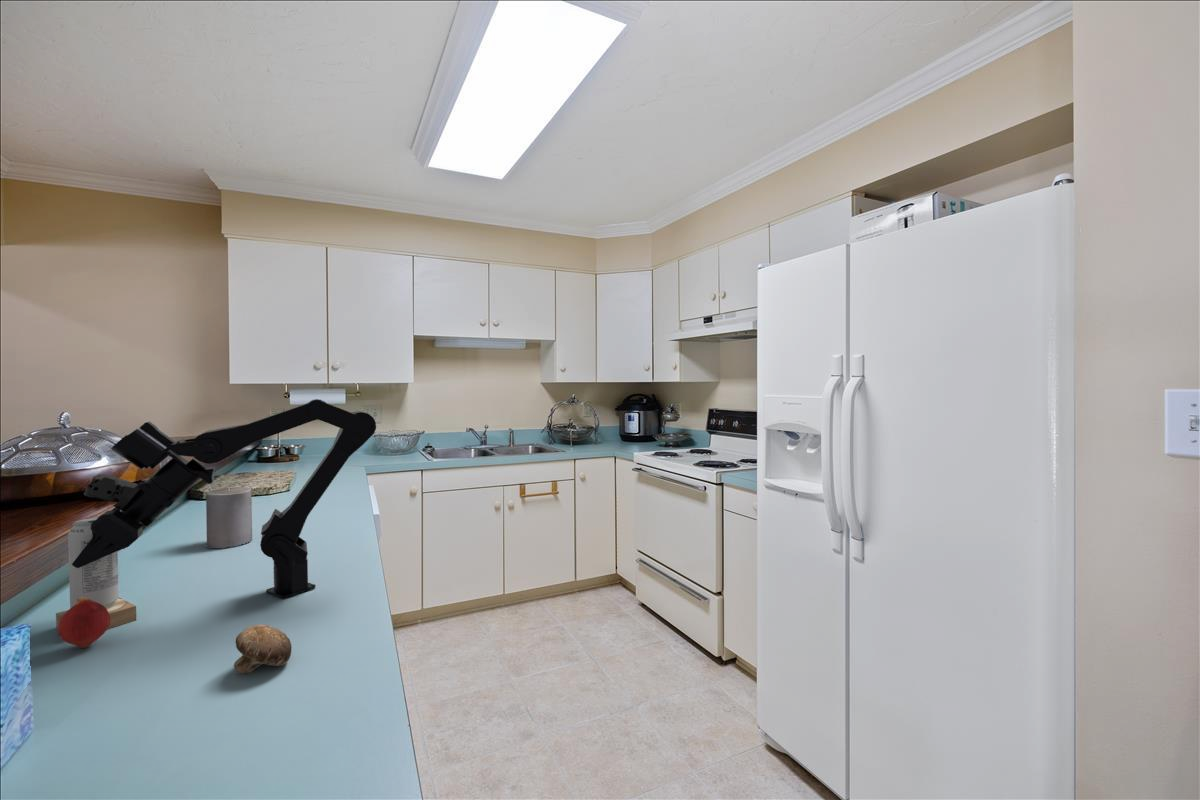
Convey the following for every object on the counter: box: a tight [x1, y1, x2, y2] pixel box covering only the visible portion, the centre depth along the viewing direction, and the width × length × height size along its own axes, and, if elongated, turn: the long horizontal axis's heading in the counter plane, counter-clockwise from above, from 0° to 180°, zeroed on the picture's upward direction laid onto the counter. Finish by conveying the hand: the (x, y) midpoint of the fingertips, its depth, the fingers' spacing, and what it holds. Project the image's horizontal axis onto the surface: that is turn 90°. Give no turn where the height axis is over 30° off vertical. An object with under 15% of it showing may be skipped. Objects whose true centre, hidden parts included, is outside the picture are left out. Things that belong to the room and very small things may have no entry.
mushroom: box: [233, 624, 292, 675], centre depth 77 cm, size 8×8×6 cm
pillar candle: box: [205, 485, 253, 549], centre depth 136 cm, size 10×10×15 cm
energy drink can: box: [67, 516, 120, 609], centre depth 90 cm, size 6×6×15 cm
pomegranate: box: [57, 597, 111, 649], centre depth 82 cm, size 6×6×8 cm
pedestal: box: [55, 597, 137, 630], centre depth 90 cm, size 8×8×3 cm
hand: (83, 558), depth 89 cm, fingers open, 9 cm apart
